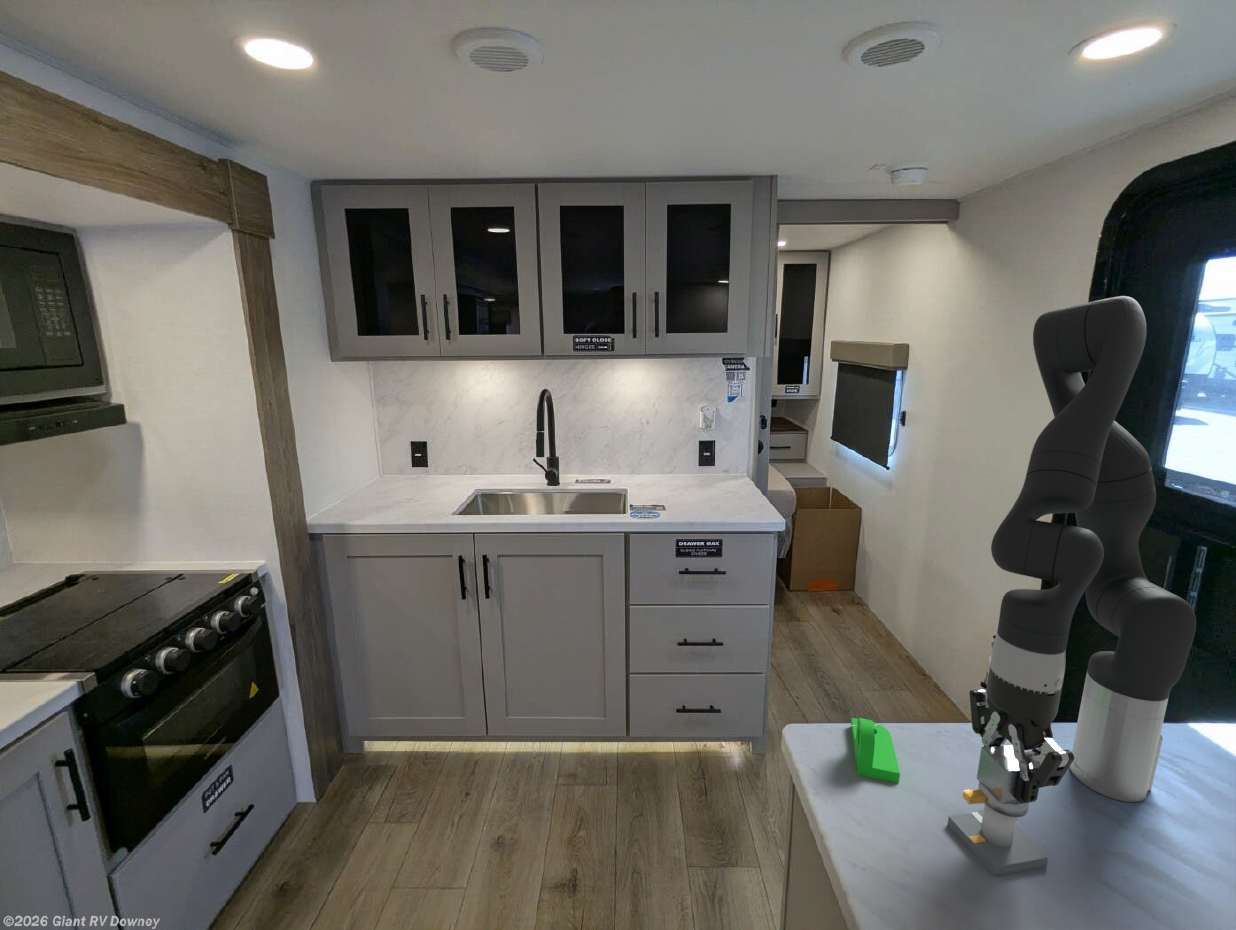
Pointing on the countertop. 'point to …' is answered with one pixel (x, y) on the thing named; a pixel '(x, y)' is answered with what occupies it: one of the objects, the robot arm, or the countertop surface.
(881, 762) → the mechanical part
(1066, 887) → the countertop surface
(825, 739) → the countertop surface
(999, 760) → the collar
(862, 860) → the countertop surface
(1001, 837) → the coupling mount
